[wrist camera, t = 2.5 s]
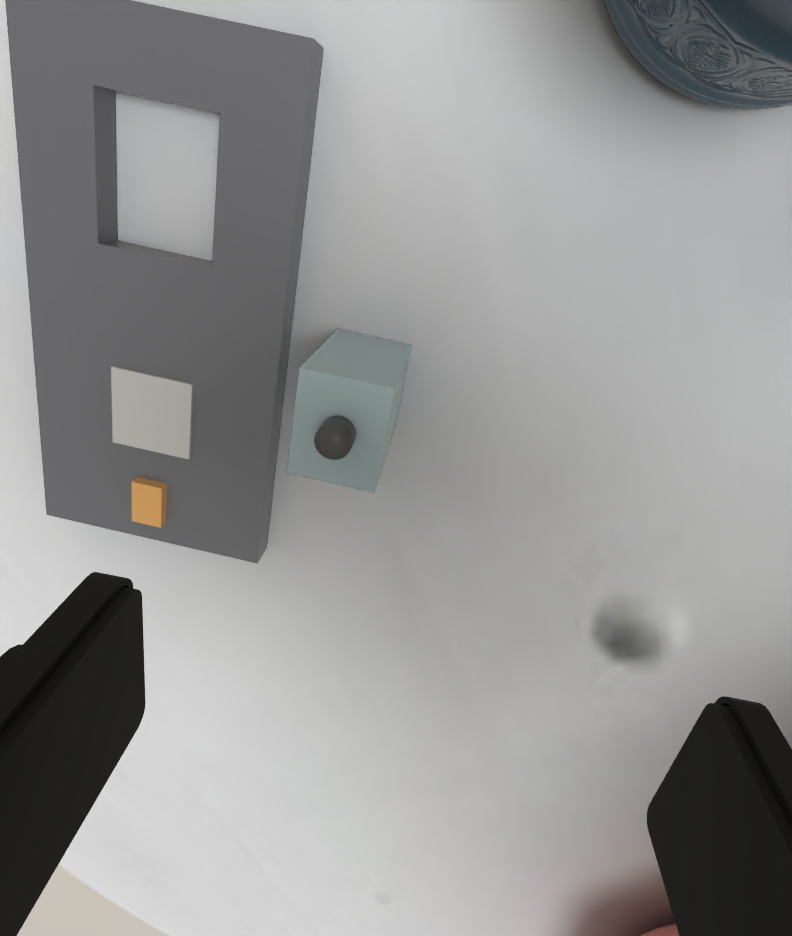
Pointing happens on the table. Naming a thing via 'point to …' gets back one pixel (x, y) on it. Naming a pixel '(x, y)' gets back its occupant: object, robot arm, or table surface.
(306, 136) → the outlet plate
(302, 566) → the table surface
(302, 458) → the block
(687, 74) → the canister
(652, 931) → the cell model
